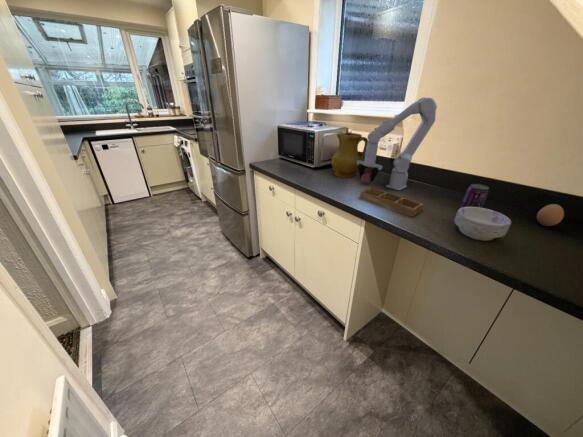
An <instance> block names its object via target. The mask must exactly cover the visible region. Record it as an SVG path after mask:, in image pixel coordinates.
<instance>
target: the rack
mask: <svg viewBox="0 0 583 437" xmlns="http://www.w3.org/2000/svg"><path fill="white" fill-rule="evenodd" d="M360 199H361V200H363V201H366V202H369V203H372V204H375V205H377V206H380V207H383V208H386V209H388V210H391V211H394V212H397V213H400V214H403V215H405V216H408V217H411V218H413V217H414V216H416V215H418V214H419V213H421V212H422V210H423V207H424V203H423V202H420V201H416V200H413V199H410V198H407V197H404V196H401V195H397V194H395V193H391V192H388V191H384V190H382V189H377V188H374V187H368V188H365V189H364V190H361V191H360V194H359V200H360Z"/></svg>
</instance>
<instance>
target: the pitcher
mask: <svg viewBox="0 0 583 437" xmlns="http://www.w3.org/2000/svg"><path fill="white" fill-rule="evenodd" d="M336 137H337V138H338V142H339V143H338V148H337V150H336V152H334V154H333V156H332V158H331V167H332V168H331V169H332V170H333V171H334V173H333V176H335V177H338V178H343V179H348V178H349V179H350V178H353V177H354V176H355V175H354V174H355V173H356V172H357V171H359V169H358V166H359V165H358V164H357V161H359V160H360V161H364V159H365V153H366V147H367V142H368V141H369V140H368V137H365V136H363V135H362V134H360V133H357V132H350V131H349V132H343V133H341V132H340V133H337V134H336ZM361 142H364V146H363V149H362V152H361V155H360V154H359V150H358V147H359V144H360V143H361Z"/></svg>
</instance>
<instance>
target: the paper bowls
mask: <svg viewBox="0 0 583 437" xmlns="http://www.w3.org/2000/svg"><path fill="white" fill-rule="evenodd" d="M455 214H456V215H455V216H454V224H455V225H456V226H457V227H458V229H459V231H460V233H461V234H463V235H464V236H466V237H468V238H471V239H474V240H477V241H484V242H485V241H492V240H494V239H497V238H503V237H505V236H506V234H507V233H508V231H509V230H510V229H509V228H510V227H511V225H512V220H511V219H510V217H508V216H506V214H504V213H501V212H499V211H495V210H492V209H489V208H485V207H482V208H480V207H462V208H460V207H459V209H457V212H456V213H455Z"/></svg>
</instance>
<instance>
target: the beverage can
mask: <svg viewBox="0 0 583 437" xmlns="http://www.w3.org/2000/svg"><path fill="white" fill-rule="evenodd" d="M489 190H490V187H489V186H487V185H484V184H480V183H471V184H470V186H469V187H468V188H467V189H466V192H465V194H464V197H463V199H462V202H461V205H460V207H459V209H460V208H462V207H480V208H483V207H484V204H485V203H486V199H487V197H488V195H489V193H490V192H489Z"/></svg>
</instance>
